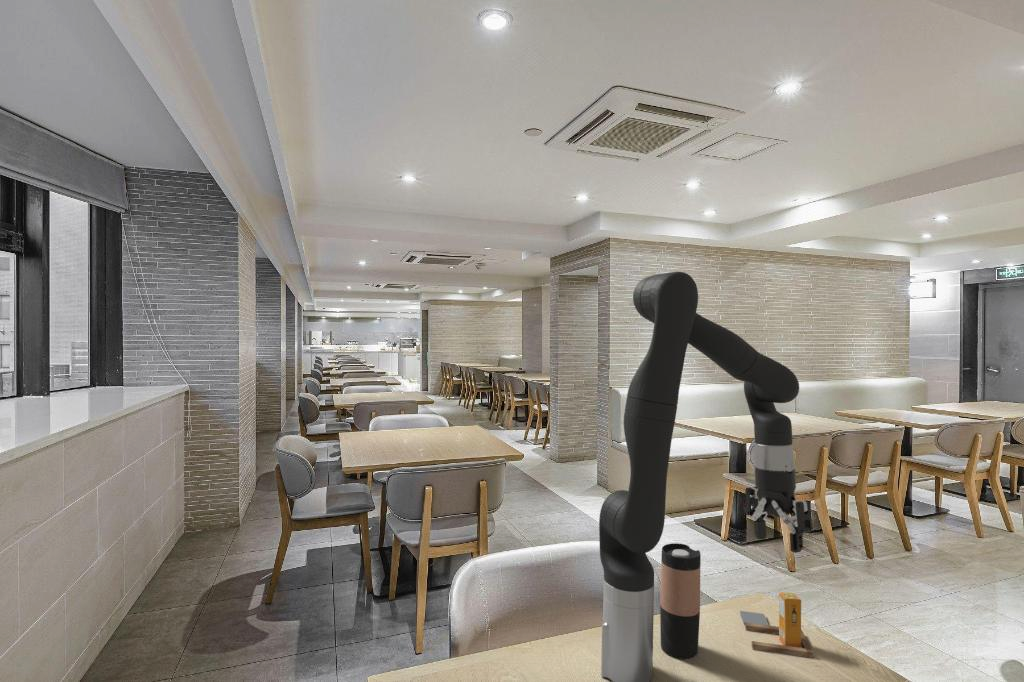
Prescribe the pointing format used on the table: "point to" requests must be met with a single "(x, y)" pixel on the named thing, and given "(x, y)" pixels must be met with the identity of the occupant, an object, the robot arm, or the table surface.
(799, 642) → the supplement box
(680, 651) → the travel mug
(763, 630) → the wooden u-shaped frame
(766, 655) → the table surface
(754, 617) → the coaster
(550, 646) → the table surface
